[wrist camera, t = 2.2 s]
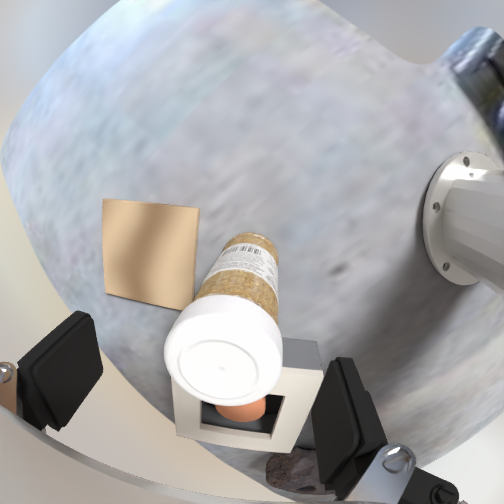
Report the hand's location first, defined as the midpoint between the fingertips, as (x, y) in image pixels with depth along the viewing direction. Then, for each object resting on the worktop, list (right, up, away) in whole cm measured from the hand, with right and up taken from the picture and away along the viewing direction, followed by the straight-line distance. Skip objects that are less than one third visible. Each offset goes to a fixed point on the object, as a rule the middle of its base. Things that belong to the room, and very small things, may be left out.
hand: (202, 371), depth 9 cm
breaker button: (+1, -9, +14) cm, 17 cm away
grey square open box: (+1, -9, +16) cm, 19 cm away
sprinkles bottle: (+2, +4, +13) cm, 14 cm away
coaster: (-7, +4, +13) cm, 16 cm away
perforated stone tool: (+11, -25, +21) cm, 34 cm away
